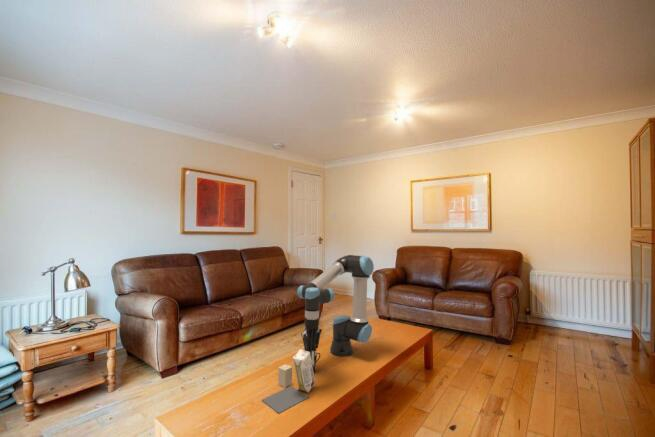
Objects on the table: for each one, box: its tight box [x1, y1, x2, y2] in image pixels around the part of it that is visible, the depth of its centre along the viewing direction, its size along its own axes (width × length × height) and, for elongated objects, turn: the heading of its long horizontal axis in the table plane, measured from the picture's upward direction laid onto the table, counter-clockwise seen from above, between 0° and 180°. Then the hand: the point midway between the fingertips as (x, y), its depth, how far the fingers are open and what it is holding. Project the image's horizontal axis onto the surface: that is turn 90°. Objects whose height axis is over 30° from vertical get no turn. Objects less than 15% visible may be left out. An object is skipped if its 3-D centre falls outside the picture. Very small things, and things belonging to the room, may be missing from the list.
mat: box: [261, 385, 310, 415], centre depth 145 cm, size 18×14×1 cm
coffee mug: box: [312, 351, 321, 373], centre depth 173 cm, size 12×9×10 cm
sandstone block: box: [277, 363, 293, 389], centre depth 158 cm, size 5×5×9 cm
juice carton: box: [292, 349, 316, 393], centre depth 152 cm, size 8×9×19 cm
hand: (311, 363), depth 156 cm, fingers closed
